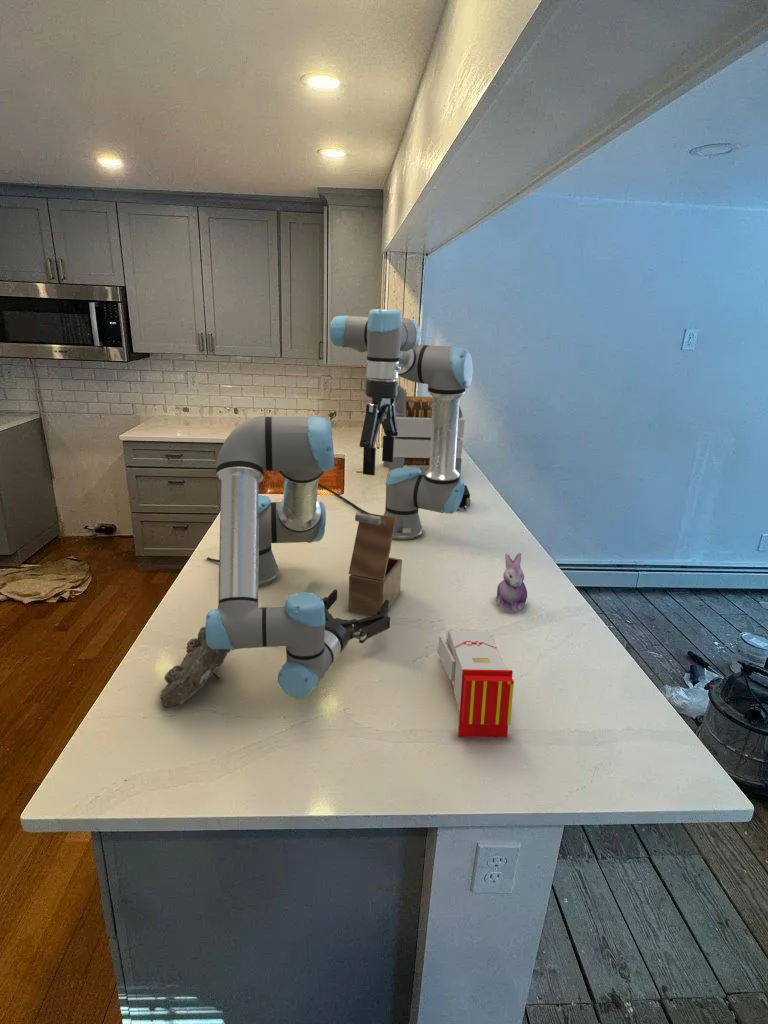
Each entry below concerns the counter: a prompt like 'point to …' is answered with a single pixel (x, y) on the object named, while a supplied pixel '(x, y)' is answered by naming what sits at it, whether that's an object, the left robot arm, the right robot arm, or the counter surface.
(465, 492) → the figurine character
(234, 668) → the counter surface
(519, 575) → the figurine
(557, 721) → the counter surface
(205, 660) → the fossil
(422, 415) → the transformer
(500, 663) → the toy
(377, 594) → the chest
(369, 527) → the lid
